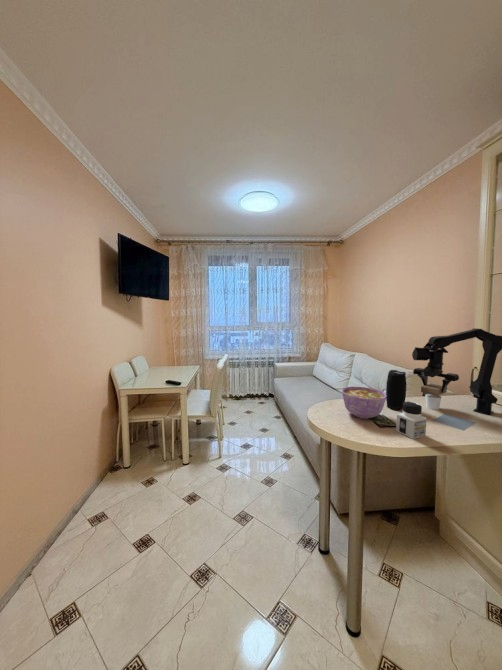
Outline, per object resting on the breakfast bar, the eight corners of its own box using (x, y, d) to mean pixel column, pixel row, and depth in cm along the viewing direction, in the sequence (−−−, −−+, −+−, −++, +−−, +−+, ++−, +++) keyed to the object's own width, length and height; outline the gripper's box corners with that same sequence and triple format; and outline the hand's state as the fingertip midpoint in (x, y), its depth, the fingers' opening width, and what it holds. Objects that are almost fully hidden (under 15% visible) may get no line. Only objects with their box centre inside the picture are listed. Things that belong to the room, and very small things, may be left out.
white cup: (435, 406, 136) (436, 393, 135) (443, 411, 129) (444, 398, 129) (421, 405, 137) (422, 393, 136) (429, 410, 130) (430, 397, 129)
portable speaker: (408, 408, 132) (410, 372, 130) (397, 412, 128) (400, 374, 126) (392, 403, 140) (394, 369, 138) (381, 406, 135) (383, 370, 133)
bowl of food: (360, 405, 137) (361, 384, 136) (395, 419, 119) (396, 395, 118) (332, 411, 128) (332, 389, 127) (365, 427, 110) (366, 401, 109)
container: (413, 439, 100) (415, 407, 99) (395, 431, 107) (397, 401, 106) (426, 435, 103) (428, 405, 102) (407, 428, 110) (409, 399, 109)
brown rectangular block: (430, 388, 138) (430, 383, 138) (446, 392, 132) (447, 386, 132) (420, 392, 132) (421, 386, 132) (437, 395, 126) (437, 390, 126)
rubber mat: (445, 414, 125) (445, 413, 125) (476, 423, 115) (476, 422, 115) (431, 421, 117) (431, 420, 117) (463, 431, 107) (463, 430, 107)
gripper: (408, 359, 134) (407, 388, 136) (450, 365, 119) (448, 398, 120) (419, 357, 140) (417, 385, 142) (460, 363, 125) (458, 394, 126)
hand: (433, 390), depth 132 cm, fingers closed on brown rectangular block, 7 cm apart
